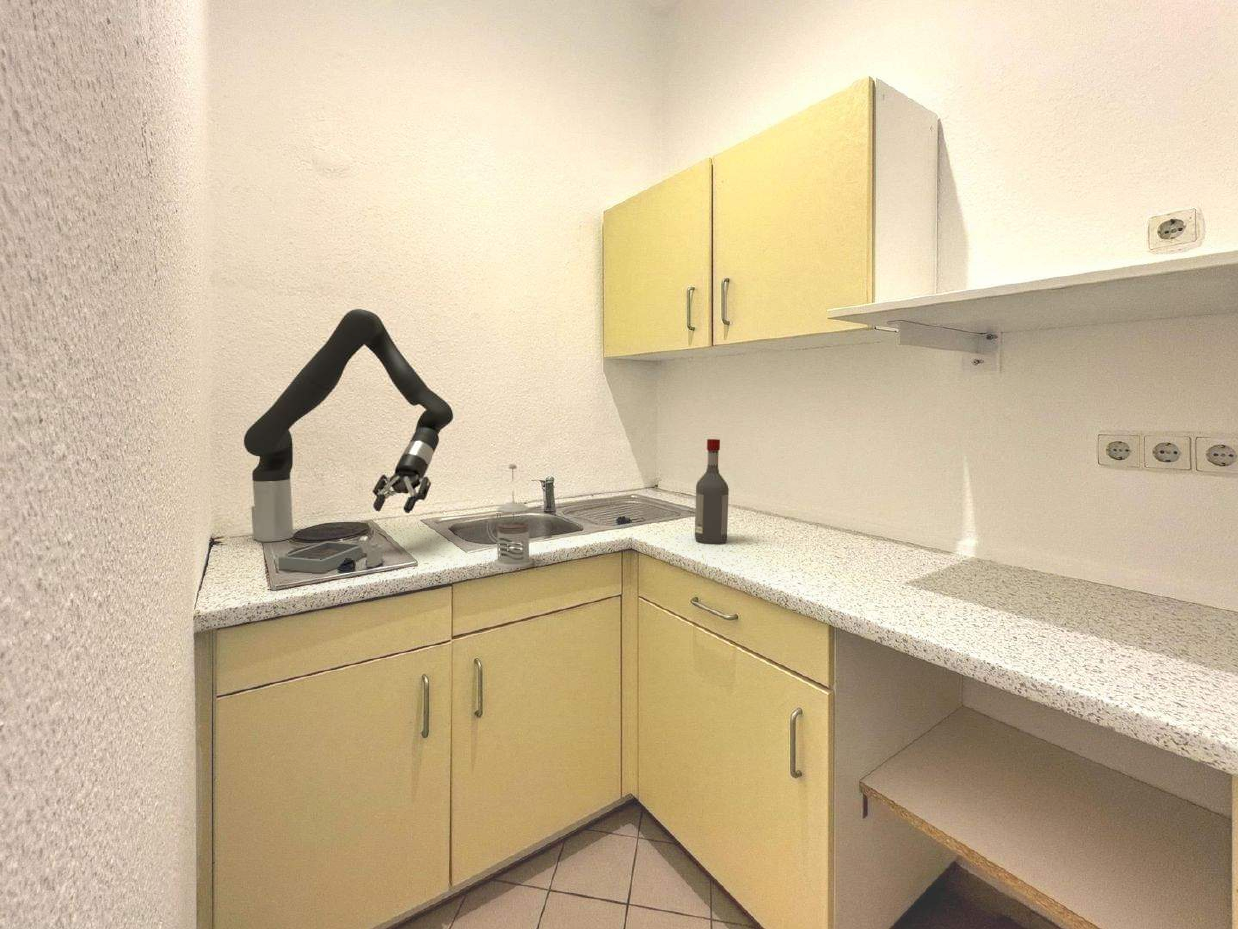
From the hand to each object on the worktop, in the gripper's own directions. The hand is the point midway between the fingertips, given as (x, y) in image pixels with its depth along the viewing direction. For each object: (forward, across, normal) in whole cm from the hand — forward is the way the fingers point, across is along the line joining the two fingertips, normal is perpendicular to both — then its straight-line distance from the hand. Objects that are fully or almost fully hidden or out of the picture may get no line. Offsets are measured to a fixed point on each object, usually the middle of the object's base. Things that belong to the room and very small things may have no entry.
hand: (391, 510), depth 144 cm
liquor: (-19, +79, +37) cm, 89 cm away
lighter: (+15, 0, +3) cm, 15 cm away
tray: (+15, -13, +3) cm, 20 cm away
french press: (+6, +31, +11) cm, 34 cm away
